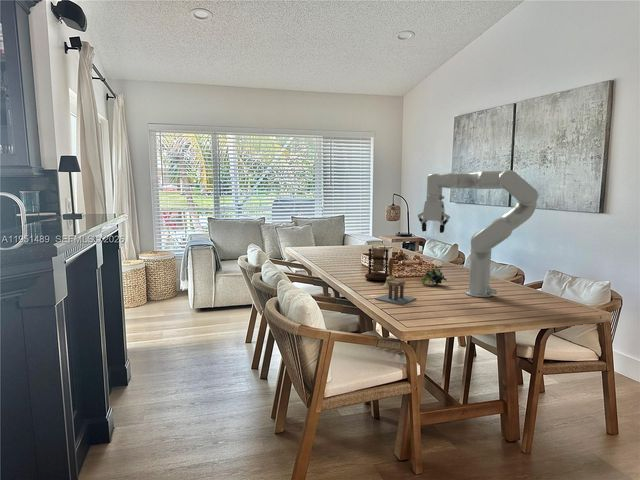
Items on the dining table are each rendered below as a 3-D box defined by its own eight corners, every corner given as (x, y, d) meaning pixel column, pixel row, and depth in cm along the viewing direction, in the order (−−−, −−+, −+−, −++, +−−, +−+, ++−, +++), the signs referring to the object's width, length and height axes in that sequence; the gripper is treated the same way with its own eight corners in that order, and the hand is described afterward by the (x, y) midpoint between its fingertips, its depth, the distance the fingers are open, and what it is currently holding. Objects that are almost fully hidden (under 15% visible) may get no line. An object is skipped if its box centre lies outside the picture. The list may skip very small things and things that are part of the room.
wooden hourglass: (390, 277, 247) (391, 244, 245) (391, 283, 232) (392, 247, 230) (365, 276, 249) (366, 243, 247) (364, 282, 234) (365, 246, 232)
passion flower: (436, 293, 231) (450, 277, 228) (431, 294, 221) (446, 277, 219) (420, 280, 236) (434, 264, 233) (415, 280, 226) (429, 263, 223)
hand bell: (398, 289, 216) (399, 259, 214) (382, 289, 218) (382, 258, 216) (398, 286, 224) (399, 257, 223) (382, 285, 226) (383, 256, 224)
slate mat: (416, 299, 198) (416, 298, 198) (401, 305, 187) (401, 303, 187) (391, 294, 207) (391, 293, 207) (375, 299, 197) (375, 298, 197)
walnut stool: (396, 300, 193) (397, 283, 192) (387, 298, 196) (387, 281, 195) (404, 297, 198) (405, 281, 197) (395, 295, 201) (395, 279, 201)
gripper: (453, 198, 208) (452, 232, 210) (422, 198, 220) (421, 230, 222) (447, 198, 203) (445, 233, 205) (415, 198, 214) (414, 231, 216)
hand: (432, 232), depth 213 cm, fingers open, 9 cm apart
